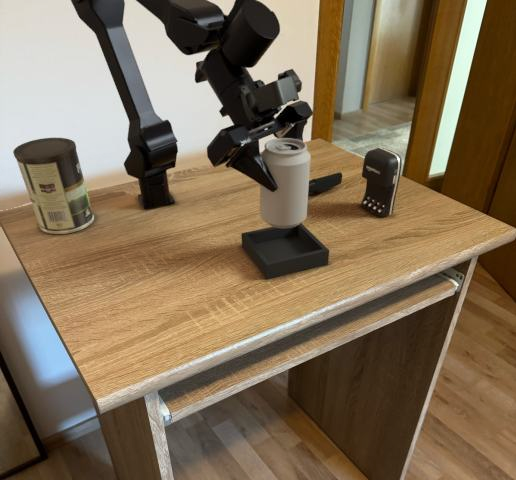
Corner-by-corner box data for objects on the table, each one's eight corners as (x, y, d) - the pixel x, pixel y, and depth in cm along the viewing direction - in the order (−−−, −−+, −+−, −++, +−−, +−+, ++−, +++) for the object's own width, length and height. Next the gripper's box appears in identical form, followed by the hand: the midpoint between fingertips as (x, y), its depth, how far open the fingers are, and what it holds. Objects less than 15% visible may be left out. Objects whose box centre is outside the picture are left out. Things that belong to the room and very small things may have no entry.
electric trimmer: (345, 189, 103) (347, 174, 101) (285, 206, 97) (286, 191, 95) (334, 183, 105) (335, 168, 103) (274, 200, 99) (275, 184, 97)
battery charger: (354, 206, 96) (362, 148, 89) (369, 202, 98) (377, 144, 90) (378, 220, 92) (388, 160, 84) (393, 215, 93) (404, 155, 86)
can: (316, 221, 78) (322, 145, 70) (280, 235, 75) (282, 157, 67) (286, 204, 82) (288, 131, 74) (250, 217, 79) (249, 142, 71)
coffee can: (85, 205, 99) (66, 133, 89) (101, 225, 92) (82, 149, 83) (33, 218, 95) (7, 144, 85) (46, 240, 88) (19, 162, 79)
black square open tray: (241, 247, 85) (241, 233, 83) (298, 234, 88) (299, 220, 86) (266, 279, 77) (266, 265, 76) (328, 264, 80) (329, 250, 79)
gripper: (215, 62, 60) (282, 174, 62) (307, 39, 70) (362, 135, 72) (179, 117, 69) (239, 213, 71) (265, 89, 79) (315, 173, 81)
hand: (291, 182), depth 73 cm, fingers closed on can, 7 cm apart
